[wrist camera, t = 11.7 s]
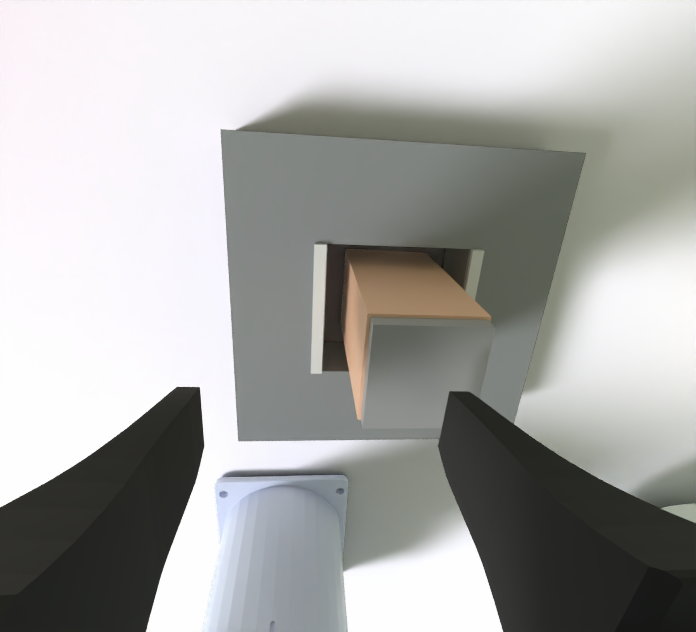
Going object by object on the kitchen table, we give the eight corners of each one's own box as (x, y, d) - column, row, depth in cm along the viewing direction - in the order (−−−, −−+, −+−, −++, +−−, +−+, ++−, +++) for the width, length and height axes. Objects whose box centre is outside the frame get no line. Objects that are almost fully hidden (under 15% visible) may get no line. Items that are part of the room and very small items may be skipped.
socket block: (487, 404, 25) (511, 440, 22) (246, 404, 23) (237, 444, 20) (546, 150, 19) (589, 153, 16) (234, 130, 18) (219, 129, 15)
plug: (415, 325, 22) (474, 430, 14) (340, 323, 22) (359, 431, 14) (425, 252, 20) (499, 324, 13) (345, 248, 20) (370, 321, 12)
